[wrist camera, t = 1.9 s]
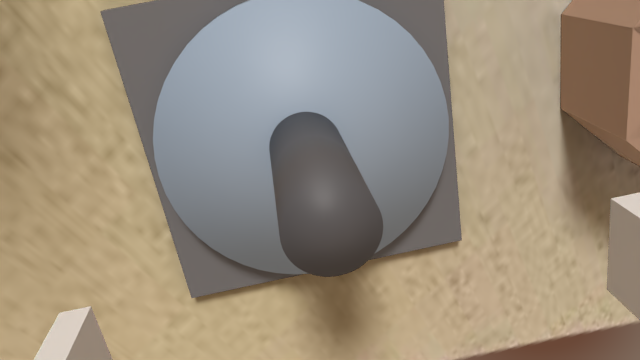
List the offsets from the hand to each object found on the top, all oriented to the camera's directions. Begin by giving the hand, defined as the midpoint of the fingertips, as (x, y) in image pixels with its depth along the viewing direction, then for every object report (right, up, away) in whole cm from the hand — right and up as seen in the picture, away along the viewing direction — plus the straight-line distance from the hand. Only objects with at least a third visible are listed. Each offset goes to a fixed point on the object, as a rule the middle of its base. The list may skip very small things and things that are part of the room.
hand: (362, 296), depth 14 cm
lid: (-2, +5, +11) cm, 12 cm away
